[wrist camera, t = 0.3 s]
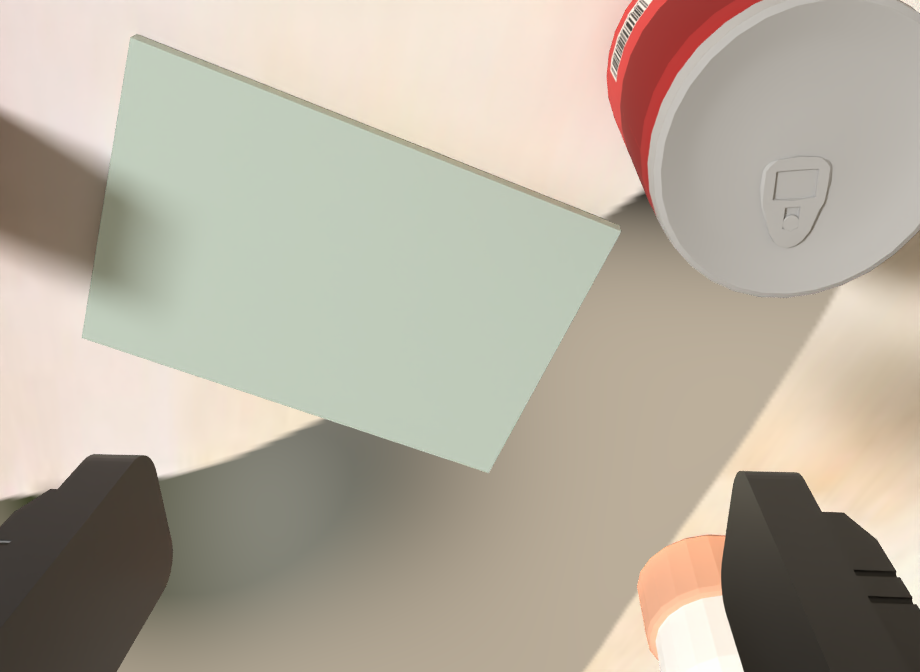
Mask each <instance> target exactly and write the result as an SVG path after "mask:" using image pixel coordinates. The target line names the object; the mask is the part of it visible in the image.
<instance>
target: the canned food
mask: <svg viewBox="0 0 920 672" xmlns="http://www.w3.org/2000/svg"><path fill="white" fill-rule="evenodd" d="M607 85H608V97H609V101H610V104H611V108H612V111H613V115H614V118H615V120H616V123H617V125H618V128H619V130H620V133H621V135H622V137H623V140H624V142H625V145H626V147H627V150H628V152H629V154H630V157H631V159H632V162H633V164H634V167H635V169H636V171H637V174H638V176H639V179H640V181H641V184H642V186H643V188H644V191H645V193H646V196H647V198H648V200H649V203H650V205H651V206H652V208H653V210H654V212H655V215H656V217H657V219H658V221H659V223H660V225H661V227H662V228H663V230H664V232H665V234H666V236H667V238H668V240H669V241H670V242H671V243H672V244H673V246H674V247H675V248H676V250H677V251H678V252H679V253H680V254H681V255H682V257H683V258H684V259H685V260H686V261H687V262H688V263H689V264H690V266H691V267H693V268H694V269H695V270H697V271H698V272H700V273H701V274H702V275H704V276H705V277H706V278H708V279H709V280H710V281H712V282H715V283H717V284H719V285H722V286H723V287H726V288H728V289H730V290H732V291H735V292H740V293H745V294H749V295H753V296H758V297H778V298H788V297H795V296H802V295H809V294H815V293H818V292H822V291H825V290H828V289H831V288H834V287H838V286H841V285H843V284H845V283H847V282H849V281H851V280H853V279H855V278H858V277H860V276H862V275H864V274H866V273H868V272H870V271H871V270H872V269H874V268H875V267H877V266H878V265H880V264H881V263H882V262H884V261H885V260H887V259H888V258H890V257H891V256H893V255H894V254H895V253H896V252H897V251H898V250H899V249H901V248H902V247H903V246H904V245H905V244H906V243H907V242H908V241H909V240H910V239H911V238H912V237H913V236H914V235H915V234H916V233H917V232H918V231H919V230H920V13H919V12H917V11H916V10H915V9H914V8H912V7H911V6H909V5H908V4H906V3H904V2H902V1H900V0H632V2H631V3H630V4H629V6H628V7H627V9H626V10H625V12H624V14H623V16H622V19H621V21H620V23H619V25H618V27H617V29H616V31H615V34H614V38H613V41H612V45H611V48H610V52H609V58H608V68H607Z"/></svg>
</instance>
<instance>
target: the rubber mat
mask: <svg viewBox="0 0 920 672" xmlns="http://www.w3.org/2000/svg"><path fill="white" fill-rule="evenodd" d="M620 233H621V228H620V225H617V224H615V223H612V222H610V221H607V220H605V219H602V218H600V217H597V216H595V215H592V214H590V213H587V212H585V211H582V210H579V209H577V208H574V207H572V206H569V205H567V204H564V203H562V202H559V201H557V200H554V199H552V198H549V197H547V196H544V195H542V194H539V193H537V192H534V191H532V190H529V189H526V188H524V187H521V186H519V185H516V184H514V183H511V182H509V181H506V180H504V179H501V178H499V177H496V176H494V175H491V174H489V173H486V172H484V171H481V170H478V169H476V168H473V167H471V166H468V165H466V164H463V163H461V162H458V161H456V160H453V159H451V158H448V157H446V156H443V155H441V154H438V153H436V152H433V151H430V150H428V149H425V148H423V147H420V146H418V145H415V144H413V143H410V142H408V141H405V140H403V139H400V138H398V137H395V136H393V135H390V134H388V133H385V132H383V131H380V130H377V129H375V128H372V127H370V126H367V125H365V124H362V123H360V122H357V121H355V120H352V119H350V118H347V117H345V116H342V115H340V114H337V113H335V112H332V111H329V110H327V109H324V108H322V107H319V106H317V105H314V104H312V103H309V102H307V101H304V100H302V99H299V98H297V97H294V96H292V95H289V94H287V93H284V92H282V91H279V90H276V89H274V88H271V87H269V86H266V85H264V84H261V83H259V82H256V81H254V80H251V79H249V78H246V77H244V76H241V75H239V74H236V73H234V72H231V71H228V70H226V69H223V68H221V67H218V66H216V65H213V64H211V63H208V62H206V61H203V60H201V59H198V58H196V57H193V56H191V55H188V54H186V53H183V52H181V51H178V50H175V49H173V48H170V47H168V46H165V45H163V44H160V43H158V42H155V41H153V40H150V39H148V38H145V37H143V36H140V35H138V34H136V35H134V36H132V37H130V43H129V49H128V55H127V61H126V67H125V74H124V80H123V86H122V92H121V98H120V105H119V111H118V117H117V123H116V129H115V135H114V142H113V148H112V154H111V160H110V166H109V173H108V179H107V185H106V191H105V197H104V203H103V210H102V216H101V222H100V228H99V234H98V241H97V247H96V253H95V259H94V265H93V271H92V278H91V284H90V290H89V296H88V302H87V309H86V315H85V321H84V327H83V333H82V338H84V339H87V340H90V341H93V342H96V343H99V344H102V345H105V346H108V347H111V348H114V349H117V350H120V351H123V352H126V353H129V354H132V355H135V356H138V357H141V358H144V359H147V360H150V361H153V362H156V363H159V364H162V365H165V366H168V367H171V368H174V369H177V370H180V371H183V372H186V373H189V374H192V375H195V376H198V377H201V378H204V379H207V380H210V381H213V382H216V383H219V384H222V385H225V386H228V387H231V388H234V389H237V390H240V391H243V392H246V393H249V394H252V395H255V396H258V397H261V398H264V399H267V400H270V401H273V402H276V403H279V404H282V405H285V406H288V407H291V408H294V409H297V410H300V411H303V412H306V413H309V414H312V415H315V416H318V417H321V418H324V419H327V420H330V421H333V422H336V423H339V424H342V425H345V426H349V427H351V428H355V429H357V430H361V431H364V432H367V433H370V434H373V435H376V436H379V437H382V438H385V439H388V440H391V441H394V442H397V443H400V444H403V445H406V446H409V447H412V448H415V449H418V450H421V451H424V452H427V453H430V454H433V455H436V456H439V457H442V458H445V459H448V460H451V461H454V462H457V463H460V464H463V465H466V466H469V467H472V468H475V469H478V470H481V471H484V472H487V473H489V472H490V470H491V468H492V466H493V465H494V463H495V461H496V459H497V457H498V455H499V454H500V452H501V450H502V448H503V446H504V445H505V442H506V441H507V439H508V437H509V435H510V434H511V431H512V430H513V428H514V426H515V424H516V423H517V421H518V419H519V417H520V415H521V414H522V412H523V410H524V408H525V406H526V404H527V403H528V401H529V399H530V397H531V395H532V393H533V392H534V390H535V388H536V386H537V384H538V382H539V381H540V379H541V377H542V375H543V373H544V372H545V370H546V368H547V366H548V364H549V362H550V361H551V359H552V357H553V355H554V353H555V351H556V350H557V348H558V346H559V344H560V342H561V340H562V339H563V337H564V335H565V333H566V332H567V330H568V328H569V326H570V324H571V322H572V321H573V319H574V317H575V315H576V313H577V311H578V310H579V308H580V306H581V304H582V302H583V300H584V299H585V297H586V295H587V293H588V291H589V290H590V288H591V286H592V284H593V282H594V280H595V279H596V277H597V275H598V273H599V271H600V270H601V268H602V266H603V264H604V262H605V260H606V259H607V257H608V255H609V253H610V251H611V249H612V248H613V246H614V244H615V242H616V240H617V239H618V237H619V235H620Z"/></svg>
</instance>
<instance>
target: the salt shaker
mask: <svg viewBox="0 0 920 672" xmlns="http://www.w3.org/2000/svg"><path fill="white" fill-rule="evenodd" d="M724 543H725V536H711V535H706V536H700V537H694V538H688V539H684V540H681V541H679V542H677V543H674V544H672V545H669V546H667V547H665V548H663V549H662V550H661V551H659V552H658V553H657V554H655V555H654V556H653V557H651V558H650V559H649V561H648V562H647V564H646V565H645V566H644V568H643V569H642V571H641V572H640V576H639V581H638V585H637V588H638V594H639V599H640V605H641V610H642V615H643V621H644V626H645V632H646V637H647V641H648V645H649V649H650V651H651V652H652V654H653V655H654V656H655V657H656V659H657V660H658V661H659V666H660V672H744V671H743V667H742V664H741V661H740V658H739V654H738V651H737V648H736V645H735V641H734V638H733V635H732V632H731V629H730V625H729V622H728V619H727V616H726V612H725V608H724V604H723V597H722V588H721V565H722V557H723V550H724Z"/></svg>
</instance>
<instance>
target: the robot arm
mask: <svg viewBox="0 0 920 672" xmlns="http://www.w3.org/2000/svg"><path fill="white" fill-rule="evenodd" d="M172 557H173V549H172V540H171V536H170V531H169V527H168V522H167V518H166V513H165V509H164V504H163V500H162V496H161V491H160V486H159V482H158V477H157V472H156V469H155V466H154V463H153V462H152V460H151V459H150V458H149V457H147V456H144V455H103V454H93V455H90V456H88V457H87V458H86V459H85V460H83V462H82V463H81V464H80V465H79V466H78V467H77V468H76V469H75V470H74V472H73V473H72V474H71V475H70V476H69V477H68V478H67V479H66V480H65V482H64V483H63V484H62V485H61V486H60V487H59V488H58V489H50V490H48V491H47V492H45V493H43V494H42V495H40V496H39V497H37V498H35V499H34V500H32V501H31V502H29V503H28V504H26V505H24V506H23V507H21V508H20V509H18V510H16V511H15V512H14V513H13V514H12V515H11V516H10V517H9V518H8V519H7V520H6V521H5V522H4V523H3V524H2V525H1V526H0V672H117V670H118V668H119V667H120V665H121V663H122V661H123V660H124V658H125V656H126V654H127V653H128V651H129V649H130V647H131V646H132V644H133V643H134V641H135V639H136V637H137V636H138V634H139V632H140V630H141V629H142V627H143V625H144V624H145V622H146V620H147V618H148V617H149V615H150V613H151V612H152V610H153V608H154V606H155V604H156V603H157V601H158V600H159V598H160V596H161V594H162V592H163V591H164V589H165V587H166V585H167V582H168V579H169V576H170V572H171V566H172ZM721 588H722V597H723V604H724V608H725V612H726V616H727V619H728V622H729V625H730V629H731V632H732V635H733V638H734V641H735V645H736V648H737V651H738V654H739V658H740V661H741V664H742V667H743V671H744V672H920V609H919V608H918V606H917V604H913V602H912V596H911V595H910V593H909V591H908V590H907V588H906V586H905V585H904V583H903V582H902V580H901V578H900V577H897V576H896V570H895V568H894V567H893V565H892V564H891V562H890V560H889V559H888V557H887V555H886V554H885V552H884V551H883V549H882V547H881V546H880V544H879V542H878V541H877V539H875V538H874V537H873V536H872V535H870V534H869V533H868V532H867V531H866V530H864V529H863V528H862V527H861V526H859V525H858V524H857V523H856V522H854V521H853V520H852V519H851V518H850V517H848V516H847V515H846V514H845V513H839V512H822V511H821V510H820V508H819V506H818V504H817V502H816V500H815V499H814V497H813V495H812V493H811V491H810V489H809V488H808V486H807V484H806V482H805V480H804V479H803V477H802V476H801V475H800V474H799V473H795V472H753V471H739V472H738V473H737V475H736V477H735V479H734V483H733V489H732V496H731V502H730V509H729V516H728V523H727V530H726V536H725V543H724V550H723V557H722V565H721Z"/></svg>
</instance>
